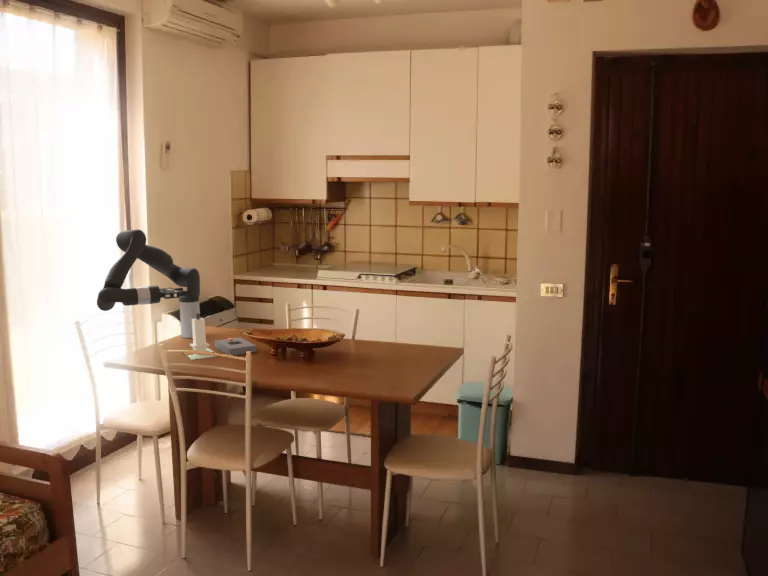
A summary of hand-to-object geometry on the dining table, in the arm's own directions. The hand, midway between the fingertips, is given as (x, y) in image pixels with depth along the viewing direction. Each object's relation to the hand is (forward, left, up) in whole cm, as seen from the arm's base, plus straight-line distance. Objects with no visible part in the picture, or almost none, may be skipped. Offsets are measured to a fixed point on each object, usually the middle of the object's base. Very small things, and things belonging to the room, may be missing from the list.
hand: (185, 291), depth 334 cm
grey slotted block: (+2, +20, -28) cm, 35 cm away
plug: (+2, +4, -27) cm, 28 cm away
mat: (+2, +4, -28) cm, 28 cm away
